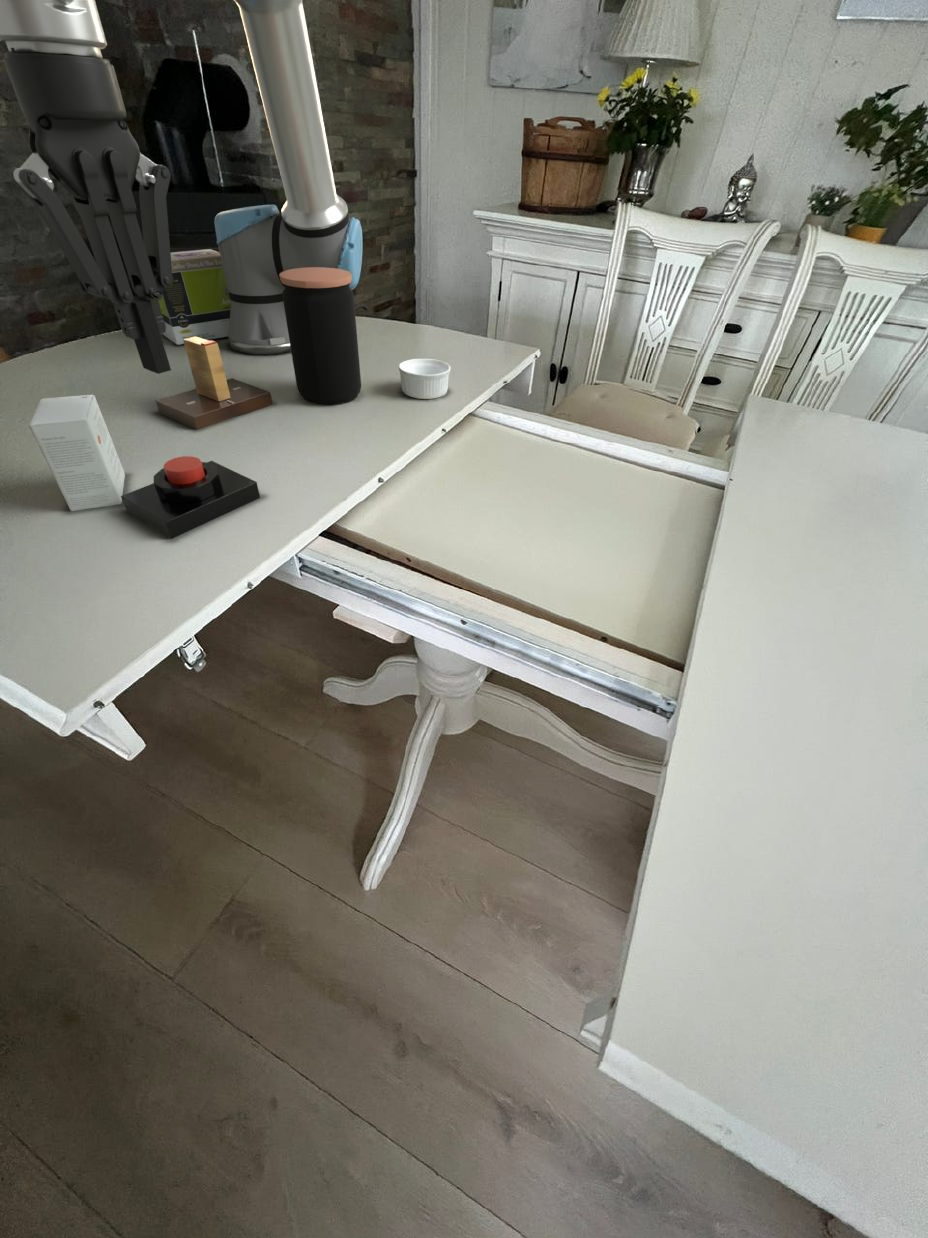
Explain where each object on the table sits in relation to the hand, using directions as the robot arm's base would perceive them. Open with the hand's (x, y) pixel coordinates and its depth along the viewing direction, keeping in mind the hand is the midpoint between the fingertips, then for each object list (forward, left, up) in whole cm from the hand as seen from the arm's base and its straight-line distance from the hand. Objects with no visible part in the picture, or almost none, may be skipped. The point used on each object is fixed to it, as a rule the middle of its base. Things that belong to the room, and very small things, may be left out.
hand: (157, 368), depth 59 cm
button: (+1, +1, -12) cm, 12 cm away
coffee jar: (-35, -14, -15) cm, 40 cm away
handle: (-19, -23, -13) cm, 32 cm away
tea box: (-42, -60, -15) cm, 74 cm away
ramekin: (-47, -3, -15) cm, 49 cm away
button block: (+1, +1, -15) cm, 15 cm away
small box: (+7, -10, -15) cm, 19 cm away
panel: (-19, -23, -15) cm, 33 cm away
